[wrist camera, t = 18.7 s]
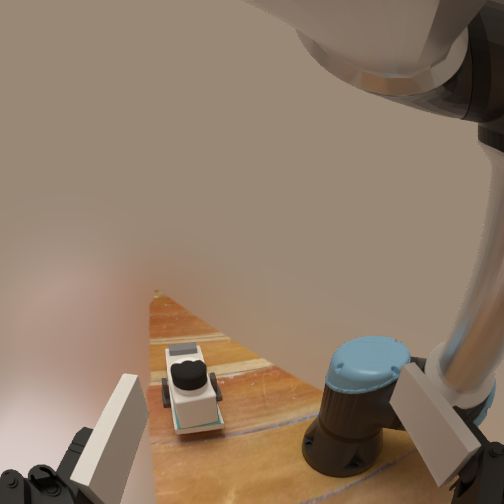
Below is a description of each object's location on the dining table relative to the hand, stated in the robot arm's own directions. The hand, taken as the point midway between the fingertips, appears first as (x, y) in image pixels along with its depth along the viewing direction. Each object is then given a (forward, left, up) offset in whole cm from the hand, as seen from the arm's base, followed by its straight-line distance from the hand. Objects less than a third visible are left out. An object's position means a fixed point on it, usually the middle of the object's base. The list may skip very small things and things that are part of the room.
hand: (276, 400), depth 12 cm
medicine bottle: (-12, -27, -30) cm, 42 cm away
